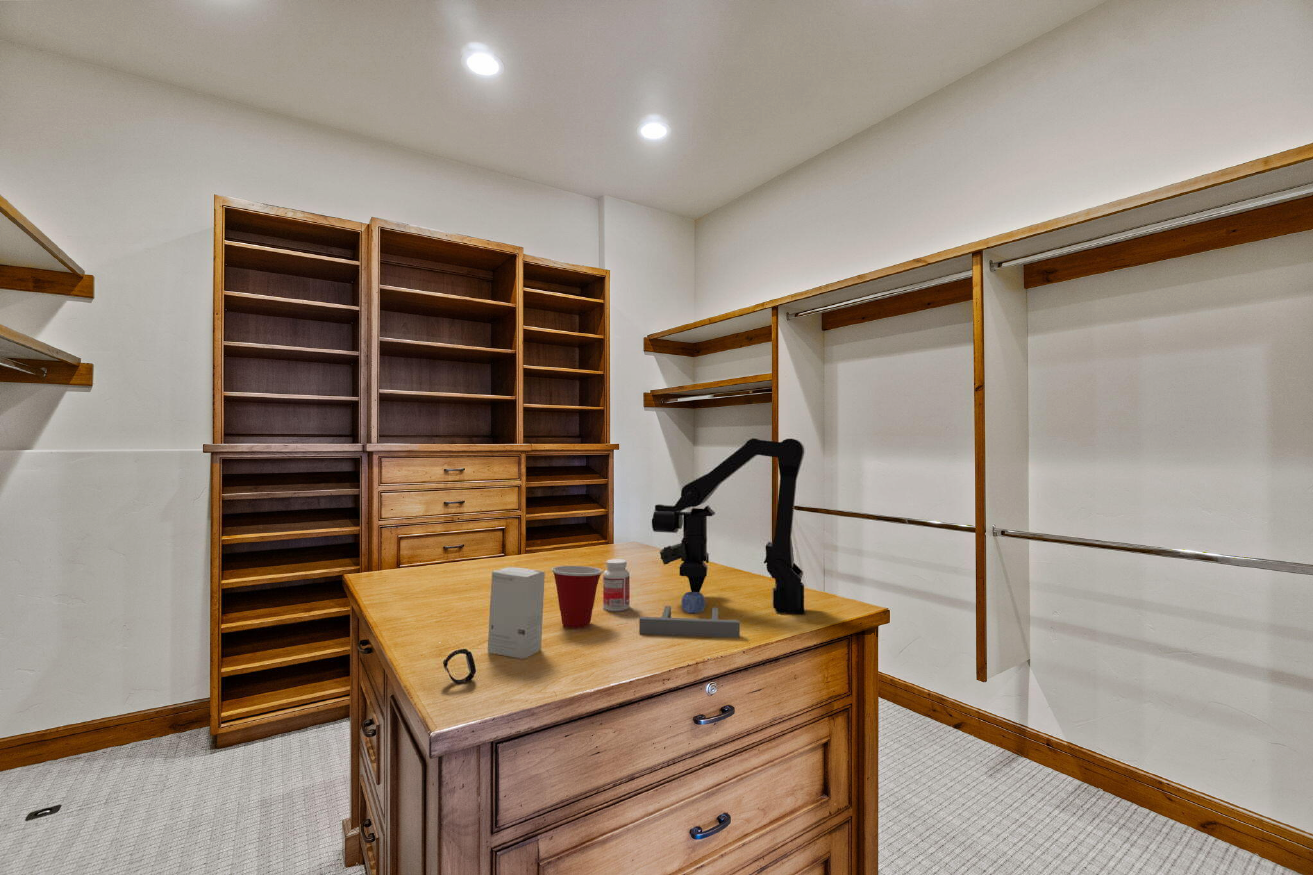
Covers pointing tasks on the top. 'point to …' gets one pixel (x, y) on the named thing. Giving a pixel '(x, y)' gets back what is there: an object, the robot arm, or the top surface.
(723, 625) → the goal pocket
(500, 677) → the top surface
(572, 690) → the top surface
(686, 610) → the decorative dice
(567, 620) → the plastic cup
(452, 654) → the smartwatch
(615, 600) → the pill bottle
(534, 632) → the skincare box
